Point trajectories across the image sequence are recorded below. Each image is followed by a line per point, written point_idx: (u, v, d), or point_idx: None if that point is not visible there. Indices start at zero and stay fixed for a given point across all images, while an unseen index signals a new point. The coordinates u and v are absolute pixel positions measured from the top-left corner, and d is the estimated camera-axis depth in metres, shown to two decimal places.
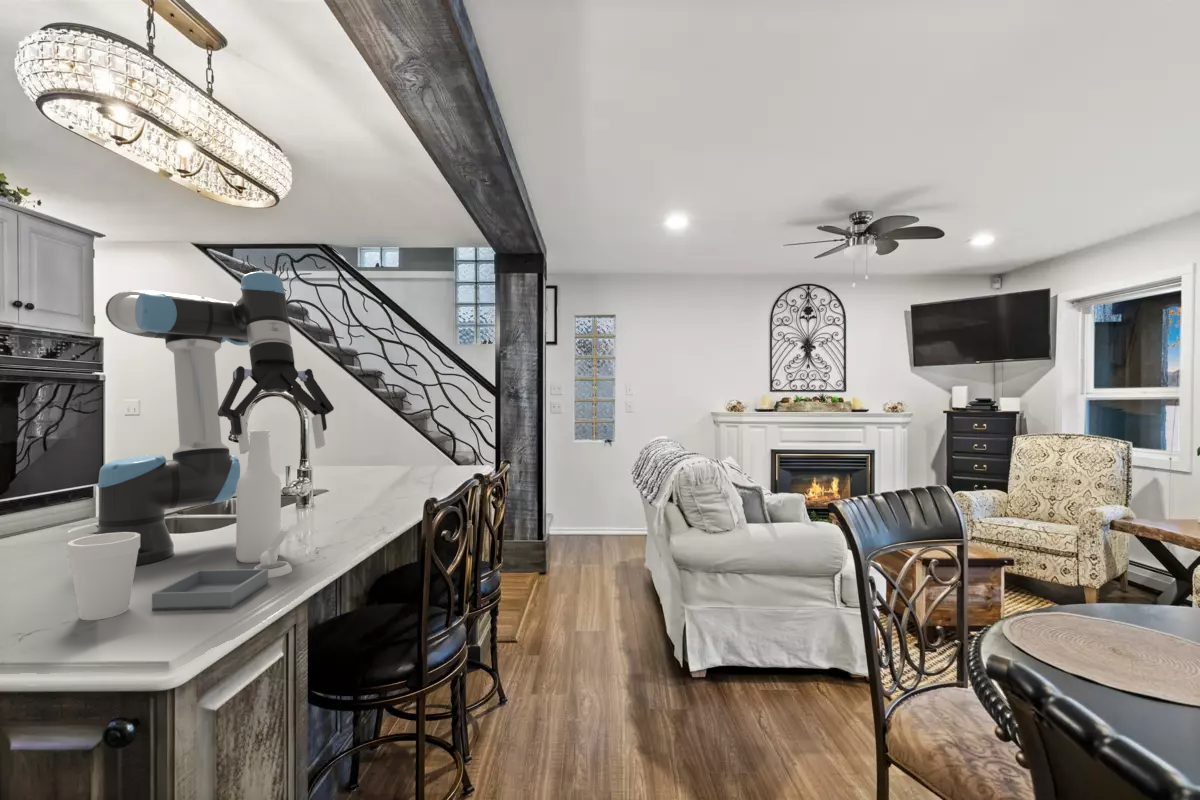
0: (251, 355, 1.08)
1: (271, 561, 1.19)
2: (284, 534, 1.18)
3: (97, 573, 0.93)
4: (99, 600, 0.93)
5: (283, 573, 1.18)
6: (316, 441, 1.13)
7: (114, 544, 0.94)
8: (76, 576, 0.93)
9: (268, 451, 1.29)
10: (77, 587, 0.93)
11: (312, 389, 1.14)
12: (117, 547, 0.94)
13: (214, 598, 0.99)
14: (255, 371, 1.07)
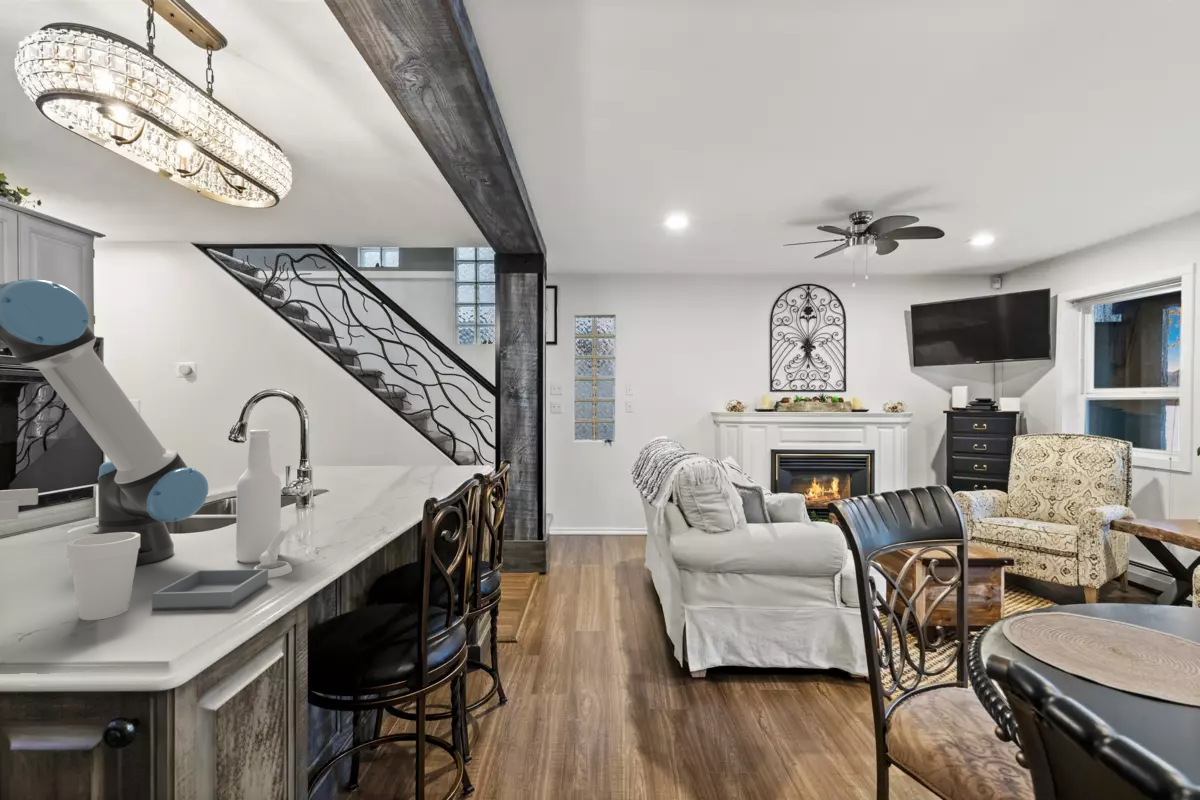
0: None
1: (271, 561, 1.19)
2: (284, 534, 1.18)
3: (97, 573, 0.93)
4: (99, 600, 0.93)
5: (283, 573, 1.18)
6: None
7: (114, 544, 0.94)
8: (76, 576, 0.93)
9: (268, 451, 1.29)
10: (77, 587, 0.93)
11: None
12: (117, 547, 0.94)
13: (214, 598, 0.99)
14: None
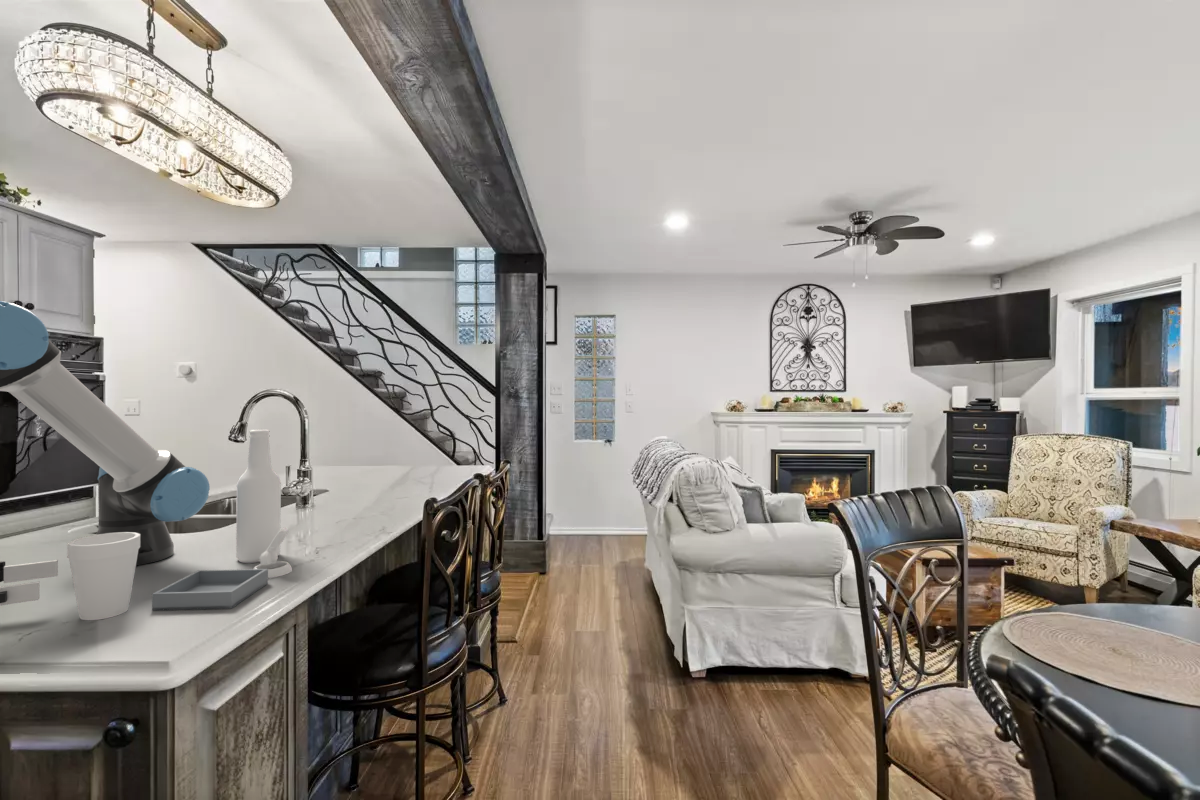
0: None
1: (271, 561, 1.19)
2: (284, 534, 1.18)
3: (97, 573, 0.93)
4: (99, 600, 0.93)
5: (283, 573, 1.18)
6: None
7: (114, 544, 0.94)
8: (76, 576, 0.93)
9: (268, 451, 1.29)
10: (77, 587, 0.93)
11: None
12: (117, 547, 0.94)
13: (214, 598, 0.99)
14: None
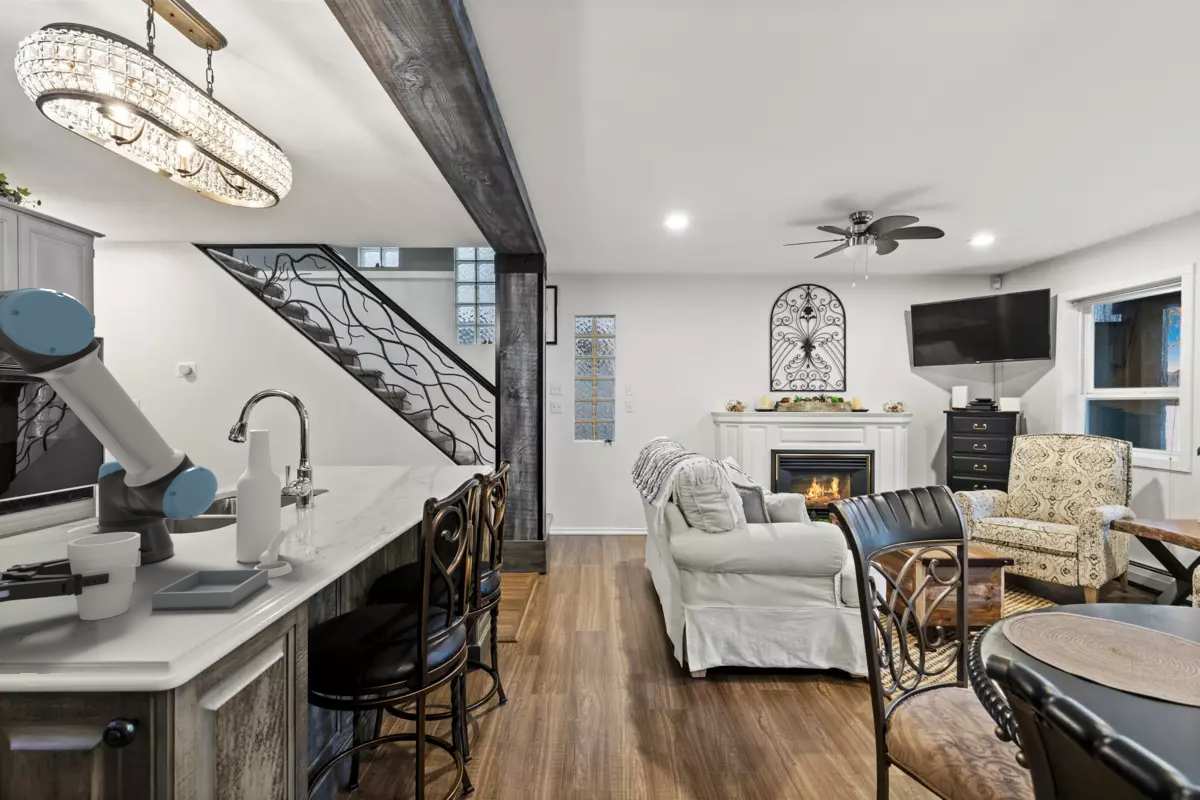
0: None
1: (271, 561, 1.19)
2: (284, 534, 1.18)
3: None
4: (99, 600, 0.93)
5: (283, 573, 1.18)
6: None
7: (114, 544, 0.94)
8: None
9: (268, 451, 1.29)
10: None
11: None
12: (117, 547, 0.94)
13: (214, 598, 0.99)
14: None
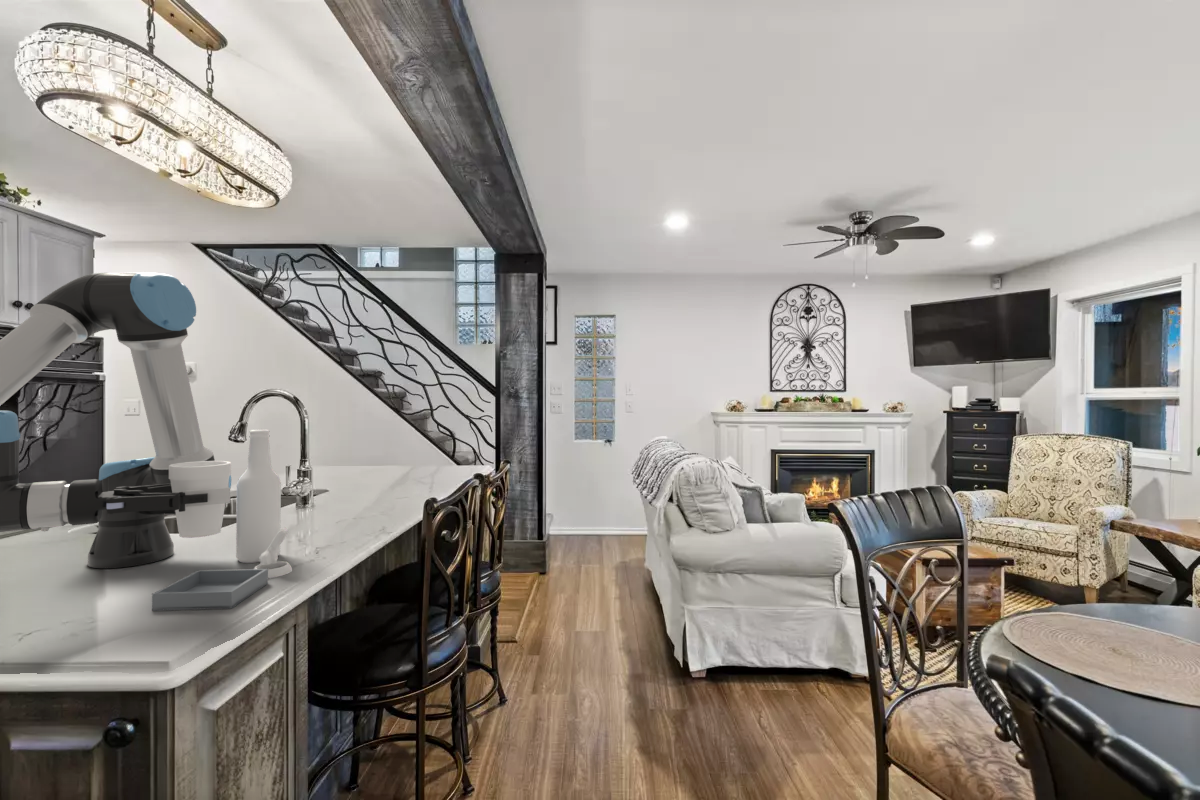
0: None
1: (271, 561, 1.19)
2: (284, 534, 1.18)
3: None
4: (198, 519, 1.00)
5: (283, 573, 1.18)
6: None
7: (211, 467, 1.00)
8: None
9: (268, 451, 1.29)
10: None
11: None
12: (214, 470, 1.01)
13: (214, 598, 0.99)
14: None
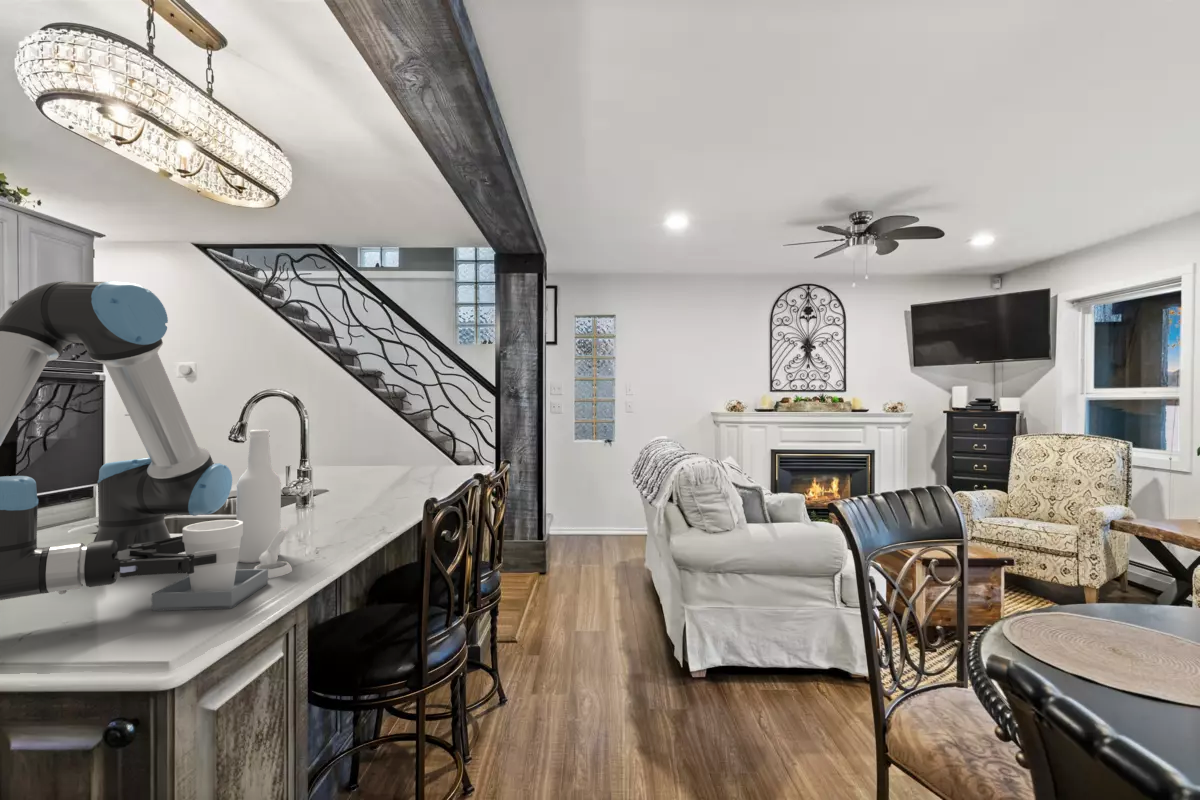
0: None
1: (271, 561, 1.19)
2: (284, 534, 1.18)
3: None
4: (211, 581, 1.02)
5: (283, 573, 1.18)
6: None
7: (224, 530, 1.02)
8: None
9: (268, 451, 1.29)
10: None
11: None
12: (227, 533, 1.03)
13: (214, 598, 0.99)
14: None
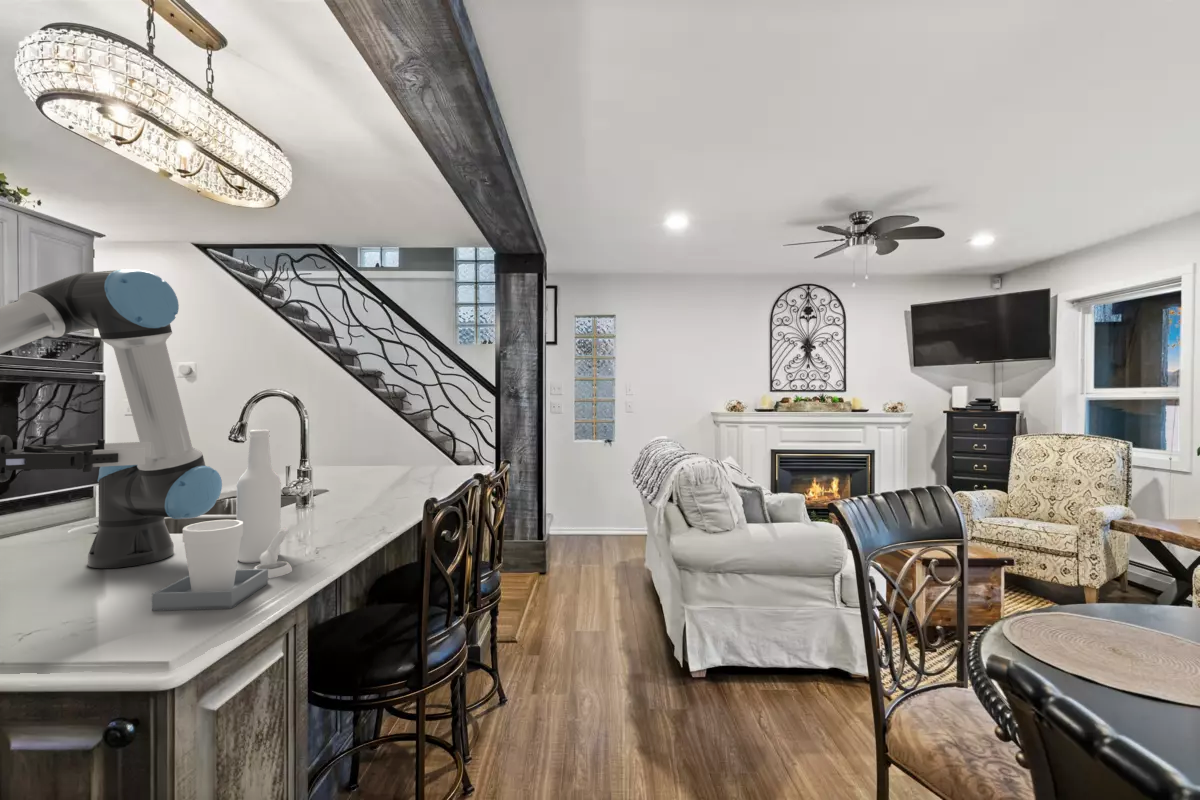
0: None
1: (271, 561, 1.19)
2: (284, 534, 1.18)
3: (210, 556, 1.01)
4: (211, 581, 1.02)
5: (283, 573, 1.18)
6: None
7: (225, 530, 1.02)
8: (191, 559, 1.01)
9: (268, 451, 1.29)
10: (192, 569, 1.01)
11: None
12: (227, 533, 1.03)
13: (214, 598, 0.99)
14: None
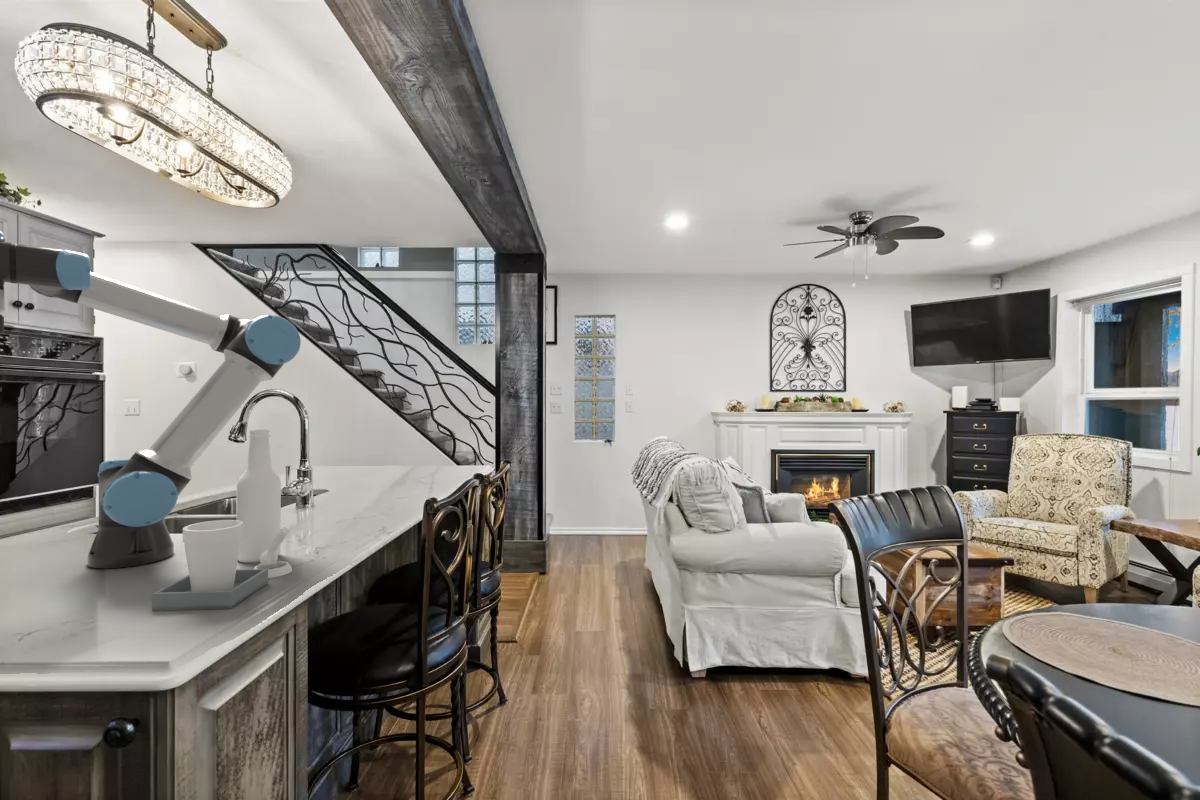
0: None
1: (271, 561, 1.19)
2: (284, 534, 1.18)
3: (210, 556, 1.01)
4: (211, 581, 1.02)
5: (283, 573, 1.18)
6: None
7: (225, 530, 1.02)
8: (191, 559, 1.01)
9: (268, 451, 1.29)
10: (192, 569, 1.01)
11: None
12: (227, 533, 1.03)
13: (214, 598, 0.99)
14: None
